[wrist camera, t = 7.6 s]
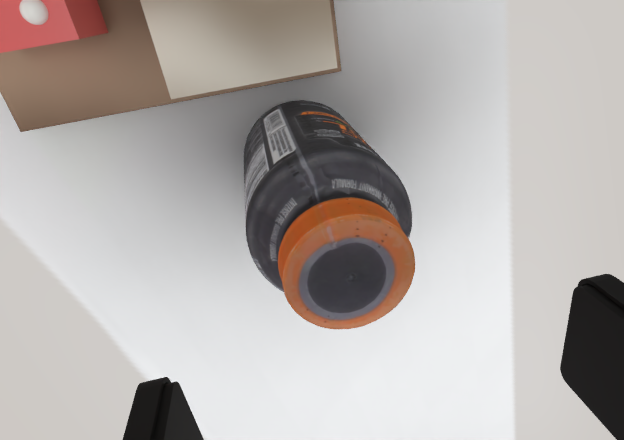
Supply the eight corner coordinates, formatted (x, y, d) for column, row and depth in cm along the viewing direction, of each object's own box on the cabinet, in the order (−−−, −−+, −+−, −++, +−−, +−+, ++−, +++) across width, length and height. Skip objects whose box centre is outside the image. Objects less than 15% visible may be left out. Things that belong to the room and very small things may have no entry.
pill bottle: (376, 149, 22) (489, 265, 12) (303, 225, 24) (350, 384, 14) (296, 71, 20) (355, 139, 10) (218, 161, 21) (202, 299, 11)
